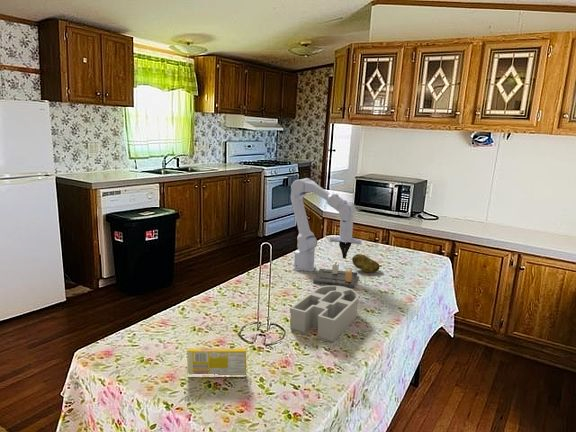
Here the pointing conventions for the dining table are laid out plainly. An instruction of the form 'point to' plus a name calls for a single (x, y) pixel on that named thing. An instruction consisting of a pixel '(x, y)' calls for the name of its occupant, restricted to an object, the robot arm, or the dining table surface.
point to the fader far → (335, 268)
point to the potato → (365, 263)
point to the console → (334, 278)
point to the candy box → (217, 361)
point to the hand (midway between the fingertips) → (344, 257)
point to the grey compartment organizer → (325, 312)
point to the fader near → (348, 275)
